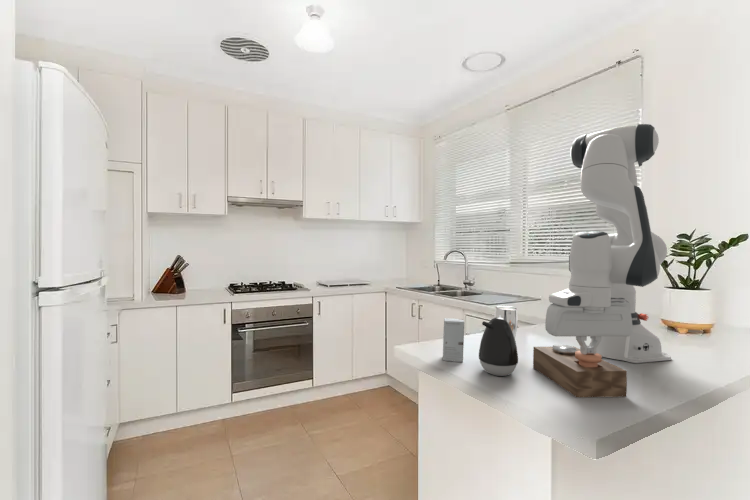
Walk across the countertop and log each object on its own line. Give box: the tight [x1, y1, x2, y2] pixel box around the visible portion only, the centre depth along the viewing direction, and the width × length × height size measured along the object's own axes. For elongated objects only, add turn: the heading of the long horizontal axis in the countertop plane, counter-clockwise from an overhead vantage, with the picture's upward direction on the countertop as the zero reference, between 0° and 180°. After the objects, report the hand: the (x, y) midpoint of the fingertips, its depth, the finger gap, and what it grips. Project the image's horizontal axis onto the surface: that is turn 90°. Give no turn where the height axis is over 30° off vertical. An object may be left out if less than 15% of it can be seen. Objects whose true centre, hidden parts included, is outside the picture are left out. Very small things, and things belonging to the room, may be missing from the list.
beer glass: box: [493, 305, 519, 339], centre depth 114 cm, size 7×7×15 cm
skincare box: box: [442, 317, 465, 363], centre depth 109 cm, size 6×4×12 cm
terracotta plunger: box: [575, 351, 603, 367], centre depth 88 cm, size 6×6×5 cm
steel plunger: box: [552, 344, 577, 355], centre depth 98 cm, size 6×6×5 cm
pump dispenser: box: [478, 317, 519, 377], centre depth 98 cm, size 10×10×15 cm
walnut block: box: [532, 345, 628, 398], centre depth 93 cm, size 12×20×6 cm, turn 3°
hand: (588, 353), depth 88 cm, fingers closed
